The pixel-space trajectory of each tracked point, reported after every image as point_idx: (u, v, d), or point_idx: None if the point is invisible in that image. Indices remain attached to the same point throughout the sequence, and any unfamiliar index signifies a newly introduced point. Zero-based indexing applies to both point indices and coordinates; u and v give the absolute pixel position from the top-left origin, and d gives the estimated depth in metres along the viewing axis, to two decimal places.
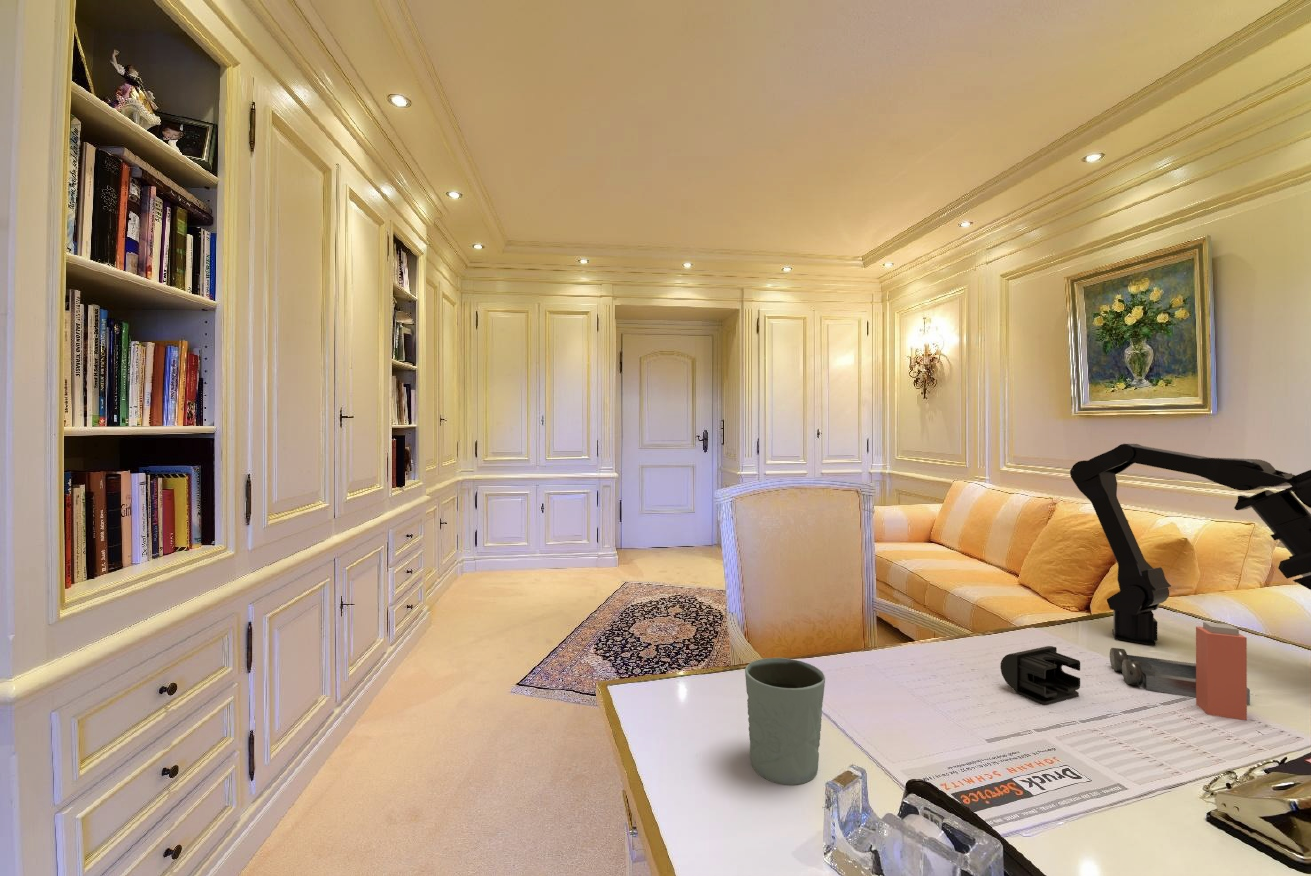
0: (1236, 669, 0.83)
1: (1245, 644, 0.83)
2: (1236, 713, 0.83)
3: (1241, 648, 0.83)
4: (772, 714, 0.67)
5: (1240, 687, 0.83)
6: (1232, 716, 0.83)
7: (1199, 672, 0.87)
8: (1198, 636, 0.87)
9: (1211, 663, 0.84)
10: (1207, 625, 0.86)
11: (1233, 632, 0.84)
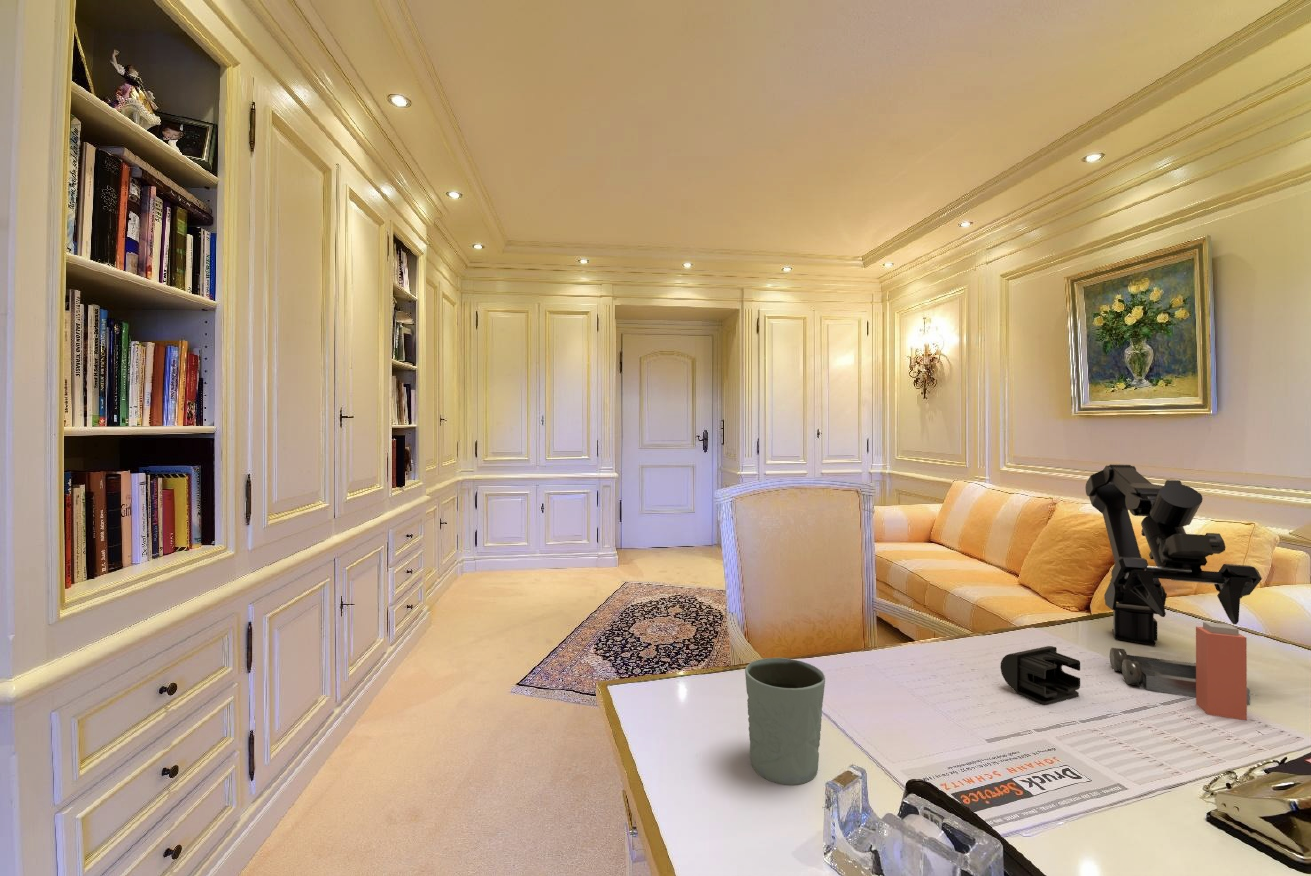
0: (1236, 669, 0.83)
1: (1245, 644, 0.83)
2: (1236, 713, 0.83)
3: (1240, 648, 0.83)
4: (772, 714, 0.67)
5: (1240, 687, 0.83)
6: (1232, 716, 0.83)
7: (1199, 672, 0.87)
8: (1198, 636, 0.87)
9: (1211, 663, 0.84)
10: (1207, 625, 0.86)
11: (1233, 632, 0.84)
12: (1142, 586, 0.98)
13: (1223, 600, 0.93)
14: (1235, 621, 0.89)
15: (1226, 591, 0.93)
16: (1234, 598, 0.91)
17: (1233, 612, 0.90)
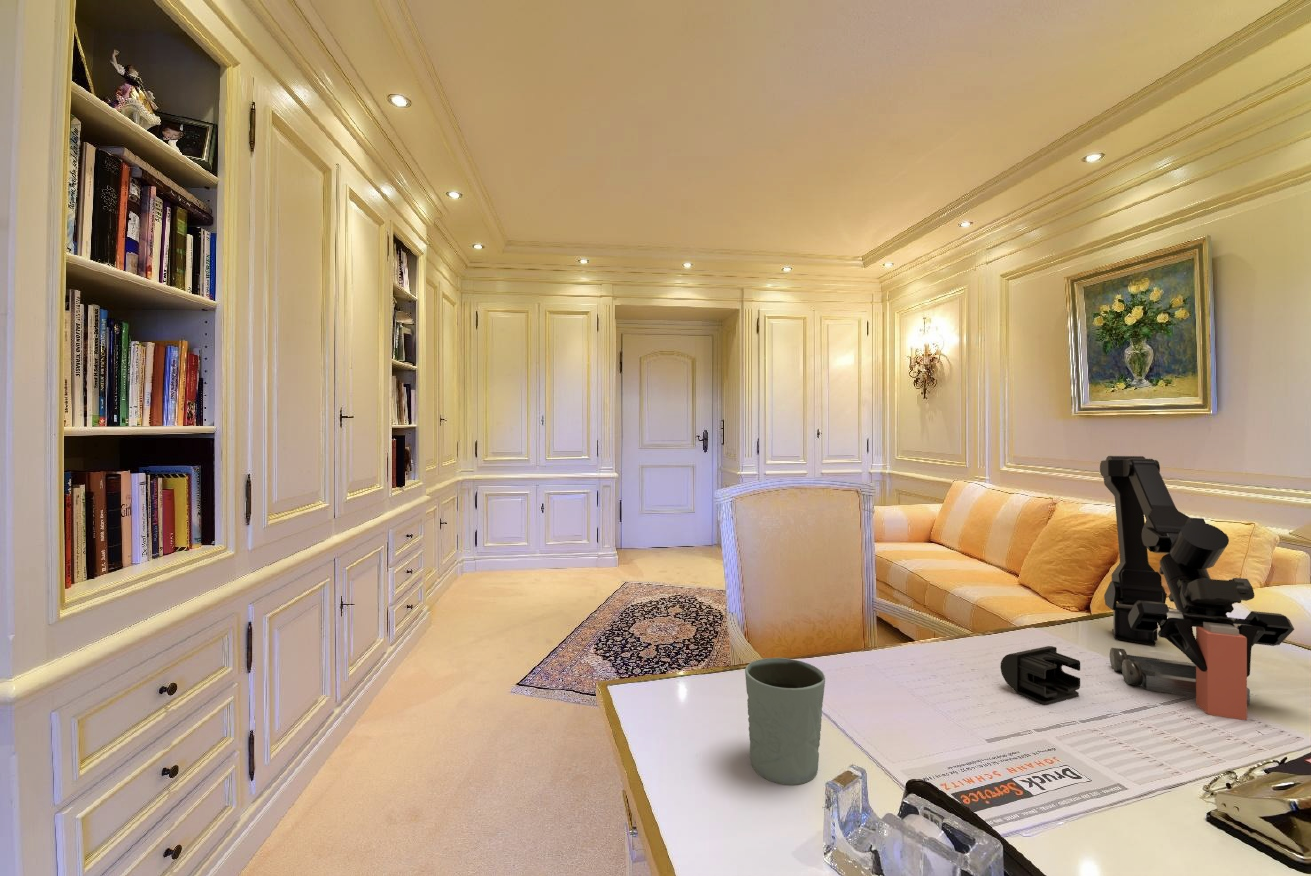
0: (1236, 669, 0.83)
1: (1245, 644, 0.83)
2: (1236, 713, 0.83)
3: (1241, 648, 0.83)
4: (772, 714, 0.67)
5: (1240, 687, 0.83)
6: (1232, 716, 0.83)
7: (1199, 672, 0.87)
8: (1198, 636, 0.87)
9: (1211, 663, 0.84)
10: (1207, 625, 0.86)
11: (1233, 632, 0.84)
12: (1179, 635, 0.90)
13: None
14: None
15: None
16: None
17: None
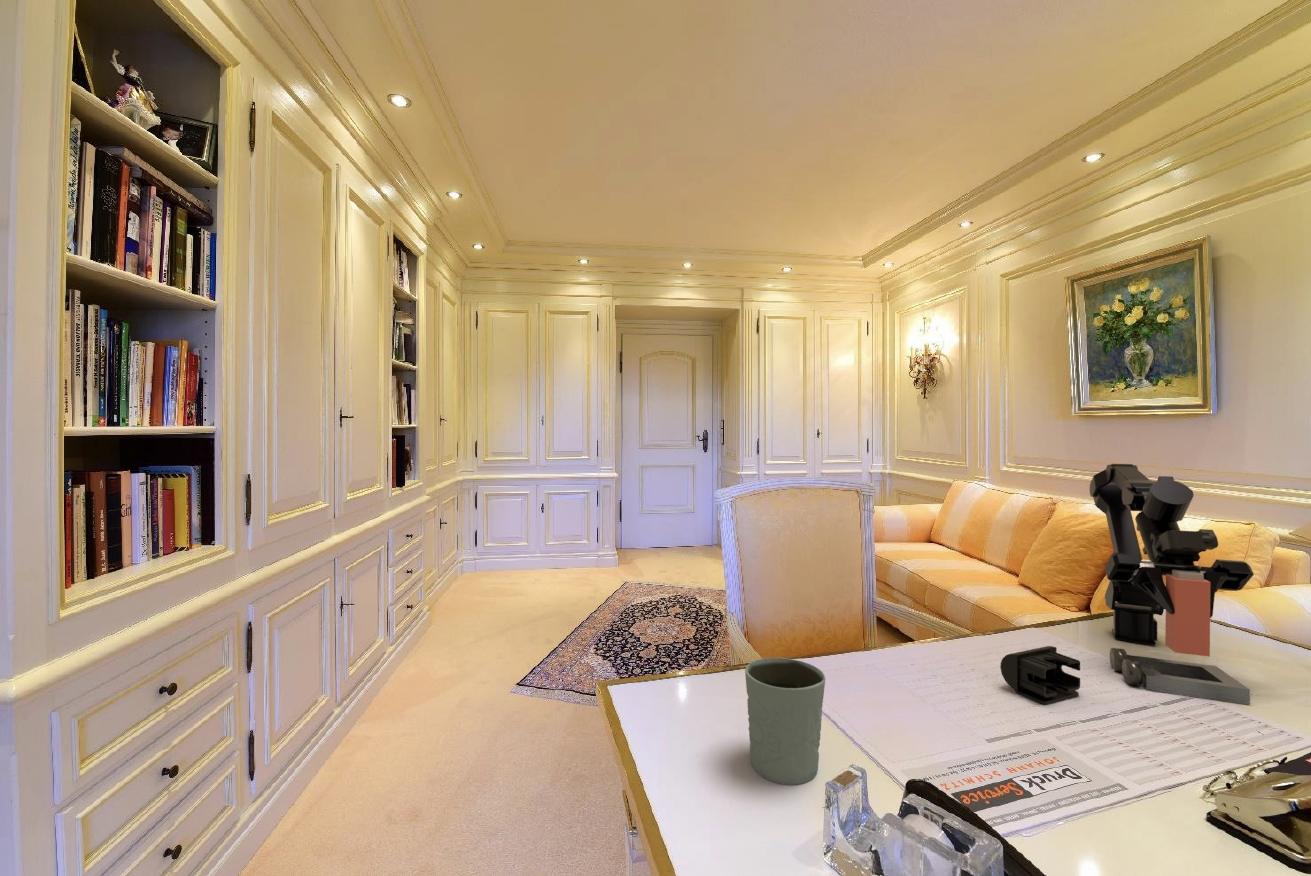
0: (1201, 611, 0.91)
1: (1209, 588, 0.91)
2: (1200, 650, 0.92)
3: (1205, 591, 0.91)
4: (772, 714, 0.67)
5: (1204, 626, 0.91)
6: (1196, 653, 0.92)
7: (1168, 615, 0.95)
8: (1167, 583, 0.95)
9: (1178, 606, 0.93)
10: (1175, 572, 0.94)
11: (1198, 577, 0.92)
12: (1151, 583, 0.98)
13: None
14: None
15: None
16: None
17: None
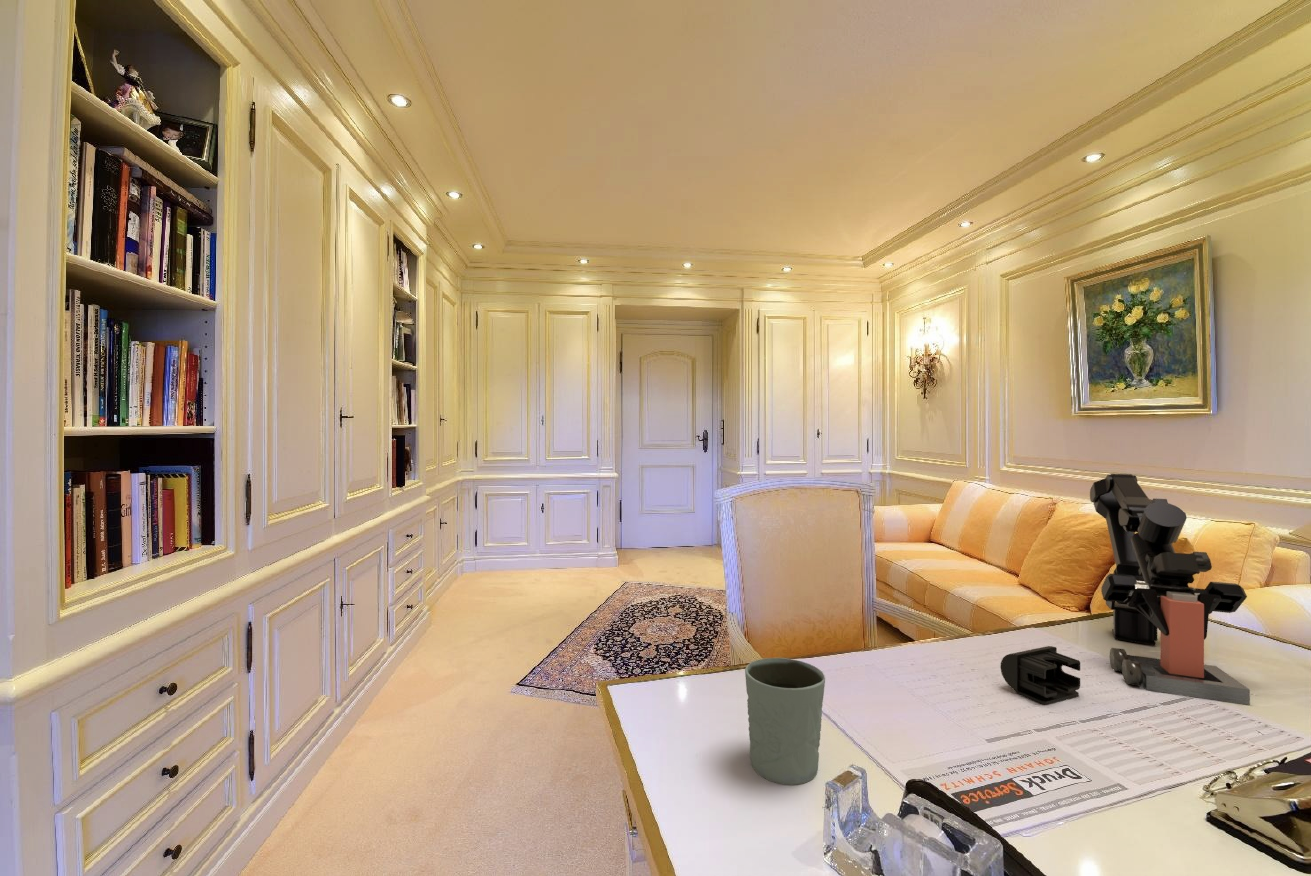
0: (1194, 632, 0.93)
1: (1202, 610, 0.92)
2: (1194, 672, 0.93)
3: (1199, 613, 0.93)
4: (772, 714, 0.67)
5: (1198, 648, 0.93)
6: (1191, 674, 0.93)
7: (1163, 636, 0.96)
8: (1162, 604, 0.97)
9: (1172, 627, 0.94)
10: (1170, 594, 0.95)
11: (1192, 599, 0.93)
12: (1146, 604, 0.99)
13: None
14: None
15: None
16: None
17: None
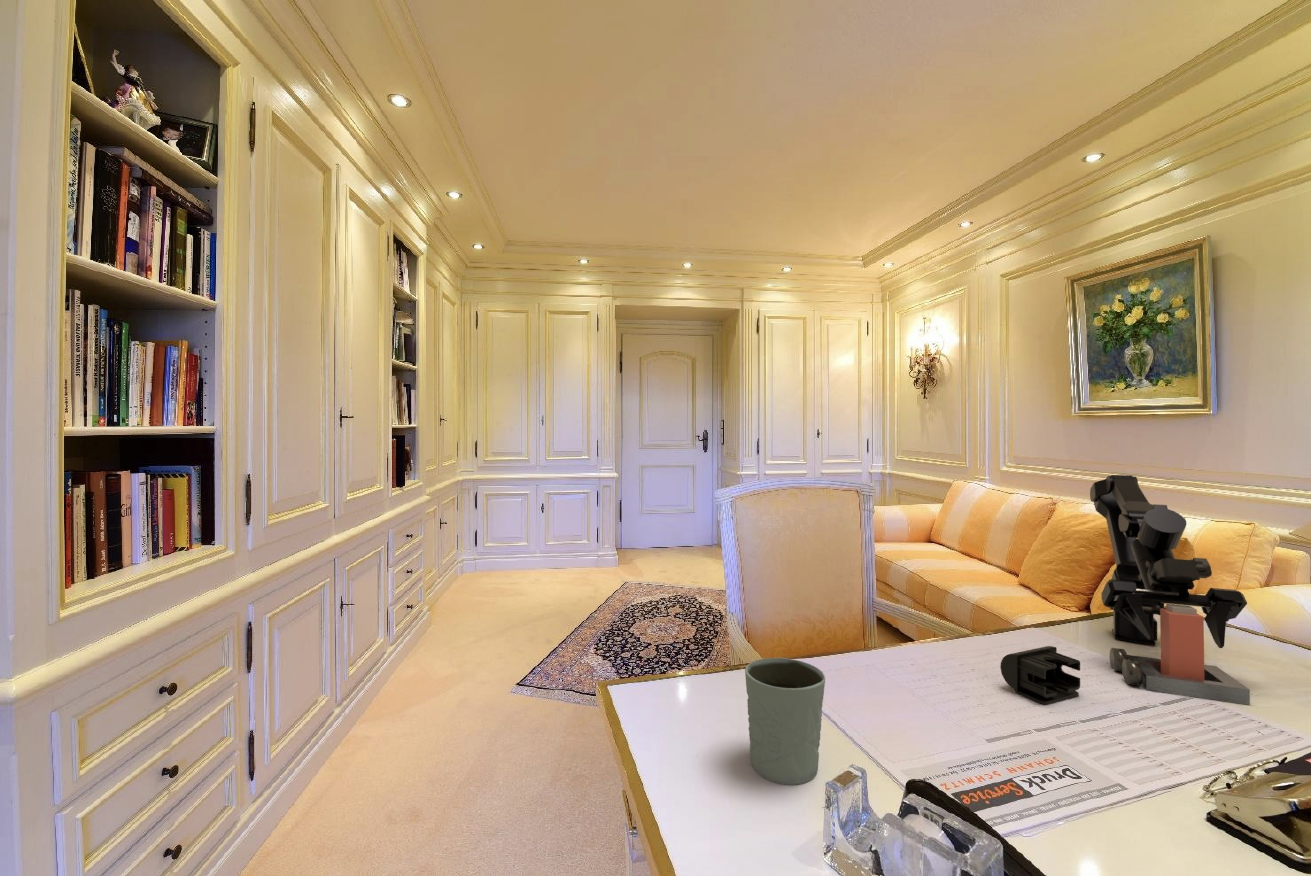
0: (1194, 645, 0.93)
1: (1202, 622, 0.93)
2: None
3: (1198, 626, 0.93)
4: (772, 714, 0.67)
5: (1198, 661, 0.93)
6: None
7: (1163, 649, 0.96)
8: (1162, 616, 0.97)
9: (1172, 640, 0.94)
10: (1169, 606, 0.96)
11: (1192, 612, 0.94)
12: (1131, 609, 1.00)
13: (1209, 624, 0.96)
14: (1221, 645, 0.92)
15: (1212, 615, 0.95)
16: (1220, 622, 0.93)
17: (1219, 636, 0.92)
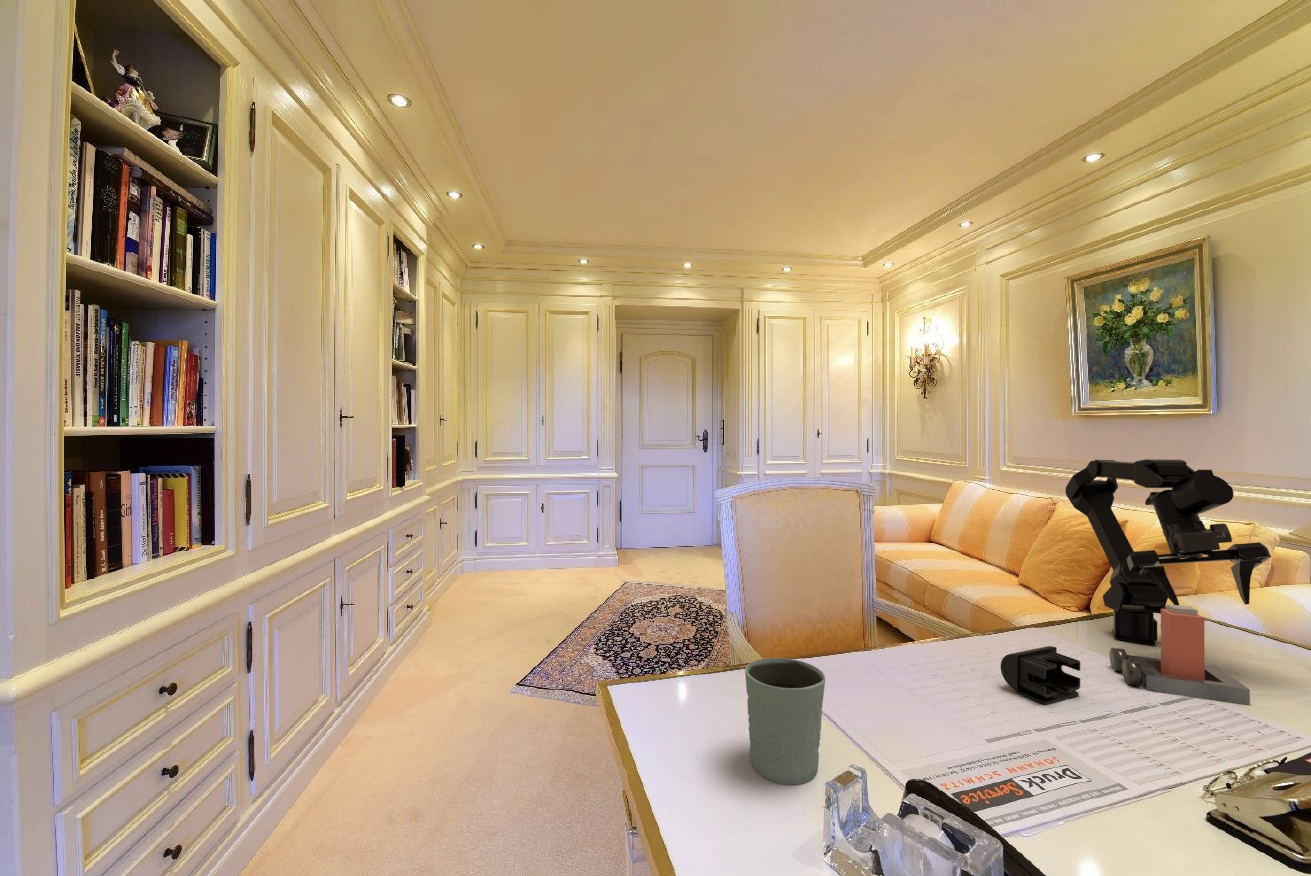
0: (1195, 646, 0.93)
1: (1203, 623, 0.92)
2: None
3: (1199, 627, 0.93)
4: (772, 714, 0.67)
5: (1199, 661, 0.93)
6: None
7: (1163, 649, 0.96)
8: (1162, 617, 0.97)
9: (1173, 641, 0.94)
10: (1170, 607, 0.95)
11: (1193, 613, 0.93)
12: None
13: (1235, 577, 0.99)
14: (1246, 603, 0.96)
15: (1237, 571, 0.98)
16: (1244, 580, 0.96)
17: (1244, 595, 0.96)
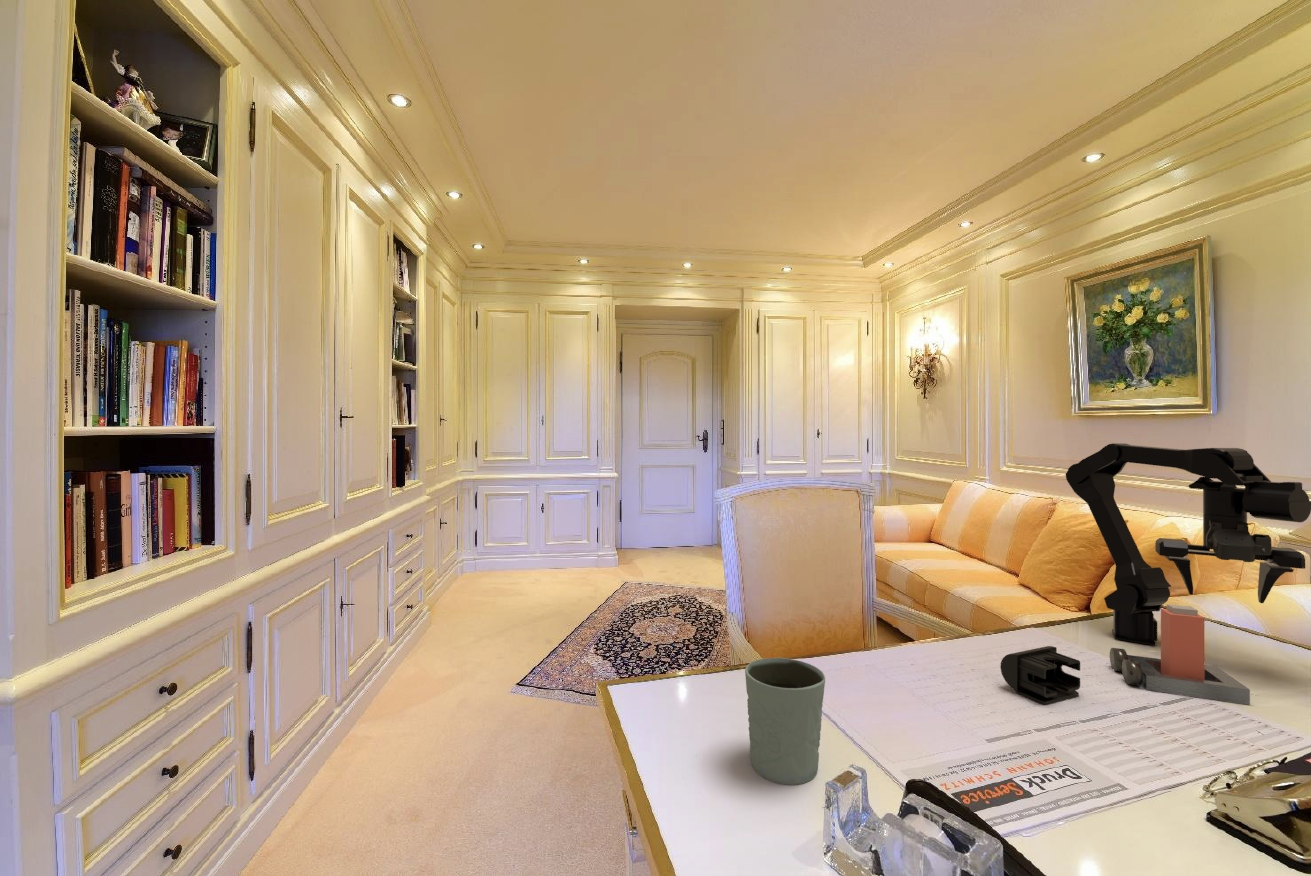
0: (1195, 646, 0.93)
1: (1203, 623, 0.92)
2: None
3: (1199, 627, 0.93)
4: (772, 714, 0.67)
5: (1199, 661, 0.93)
6: None
7: (1163, 649, 0.96)
8: (1162, 617, 0.97)
9: (1173, 641, 0.94)
10: (1170, 607, 0.95)
11: (1193, 613, 0.93)
12: None
13: (1260, 574, 1.00)
14: (1260, 602, 0.99)
15: (1264, 572, 0.99)
16: (1268, 583, 0.98)
17: (1261, 595, 0.99)
